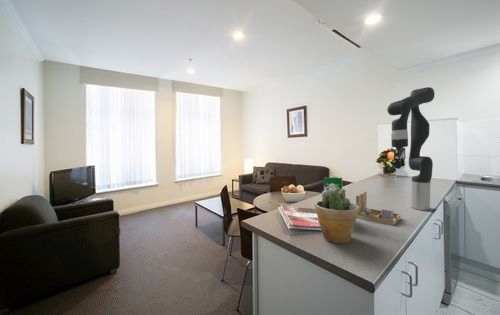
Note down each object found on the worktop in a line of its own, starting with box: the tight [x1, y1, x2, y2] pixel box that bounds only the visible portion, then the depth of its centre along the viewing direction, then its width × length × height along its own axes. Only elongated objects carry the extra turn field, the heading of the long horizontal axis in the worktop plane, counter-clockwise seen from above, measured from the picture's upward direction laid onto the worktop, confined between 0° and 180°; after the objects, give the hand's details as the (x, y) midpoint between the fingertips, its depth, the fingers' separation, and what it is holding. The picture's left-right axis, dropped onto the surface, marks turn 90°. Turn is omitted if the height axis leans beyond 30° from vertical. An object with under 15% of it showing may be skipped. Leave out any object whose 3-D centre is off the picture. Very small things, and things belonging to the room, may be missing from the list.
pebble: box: [365, 207, 371, 214], centre depth 127 cm, size 3×3×3 cm
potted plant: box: [314, 184, 359, 244], centre depth 97 cm, size 18×19×25 cm
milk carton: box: [323, 175, 343, 191], centre depth 119 cm, size 9×9×25 cm
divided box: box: [355, 191, 401, 227], centre depth 119 cm, size 14×18×13 cm
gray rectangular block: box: [381, 207, 395, 220], centre depth 116 cm, size 4×4×6 cm
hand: (400, 167), depth 119 cm, fingers open, 8 cm apart
